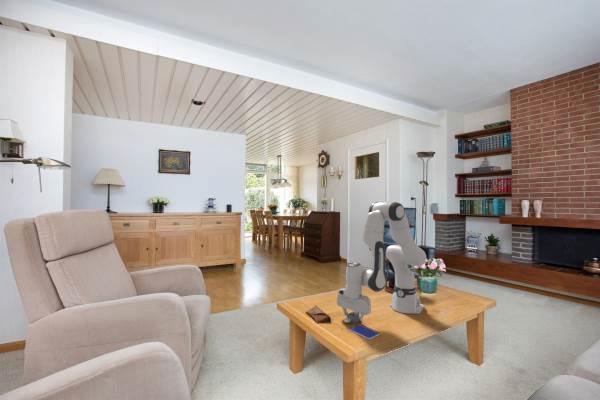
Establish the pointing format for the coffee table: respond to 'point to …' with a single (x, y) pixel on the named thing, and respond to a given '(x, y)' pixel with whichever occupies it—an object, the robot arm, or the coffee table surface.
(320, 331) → the coffee table surface
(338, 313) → the coffee table surface
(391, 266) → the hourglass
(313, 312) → the sunglasses case
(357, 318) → the plug
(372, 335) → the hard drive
